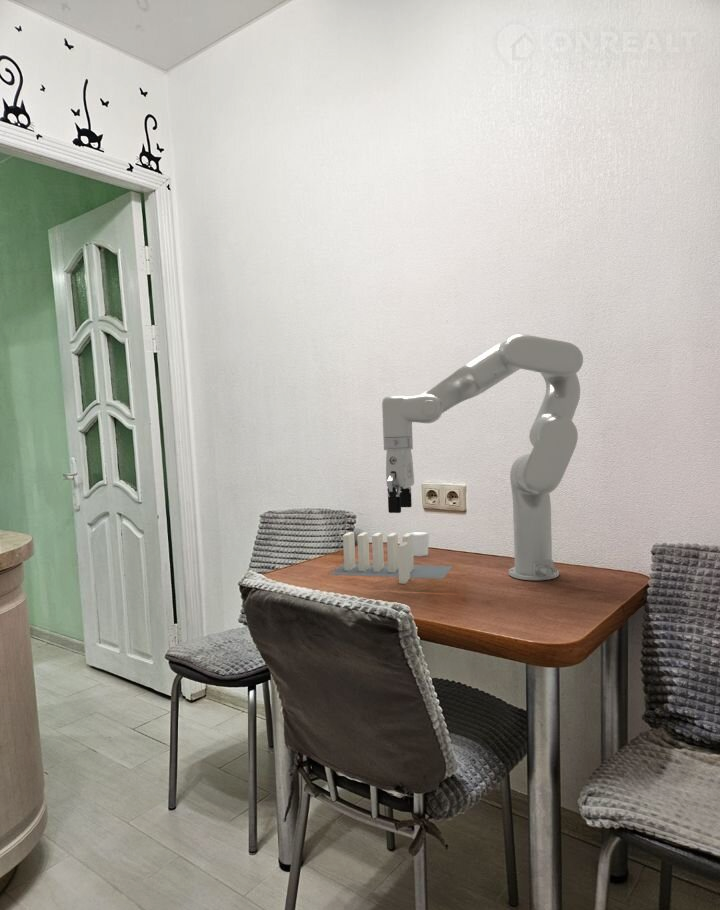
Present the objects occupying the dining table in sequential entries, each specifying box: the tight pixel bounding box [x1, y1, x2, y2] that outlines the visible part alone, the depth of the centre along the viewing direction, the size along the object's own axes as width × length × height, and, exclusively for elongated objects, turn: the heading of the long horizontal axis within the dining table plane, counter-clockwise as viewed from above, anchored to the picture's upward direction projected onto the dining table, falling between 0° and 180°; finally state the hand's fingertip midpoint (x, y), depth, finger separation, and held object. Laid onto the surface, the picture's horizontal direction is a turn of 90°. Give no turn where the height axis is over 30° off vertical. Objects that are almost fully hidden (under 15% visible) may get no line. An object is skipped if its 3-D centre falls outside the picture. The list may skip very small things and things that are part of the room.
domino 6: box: [398, 541, 411, 584], centre depth 168 cm, size 2×5×10 cm, turn 162°
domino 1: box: [342, 531, 357, 571], centre depth 184 cm, size 2×5×10 cm, turn 161°
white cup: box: [408, 530, 430, 557], centre depth 199 cm, size 7×7×7 cm
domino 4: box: [386, 532, 399, 572], centre depth 180 cm, size 2×5×10 cm, turn 161°
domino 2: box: [356, 531, 371, 571], centre depth 182 cm, size 2×5×10 cm, turn 162°
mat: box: [328, 562, 454, 580], centre depth 180 cm, size 32×14×1 cm, turn 71°
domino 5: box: [402, 532, 415, 572], centre depth 178 cm, size 2×5×10 cm, turn 162°
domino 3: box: [371, 532, 385, 572], centre depth 181 cm, size 2×5×10 cm, turn 161°
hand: (400, 509), depth 168 cm, fingers open, 9 cm apart
